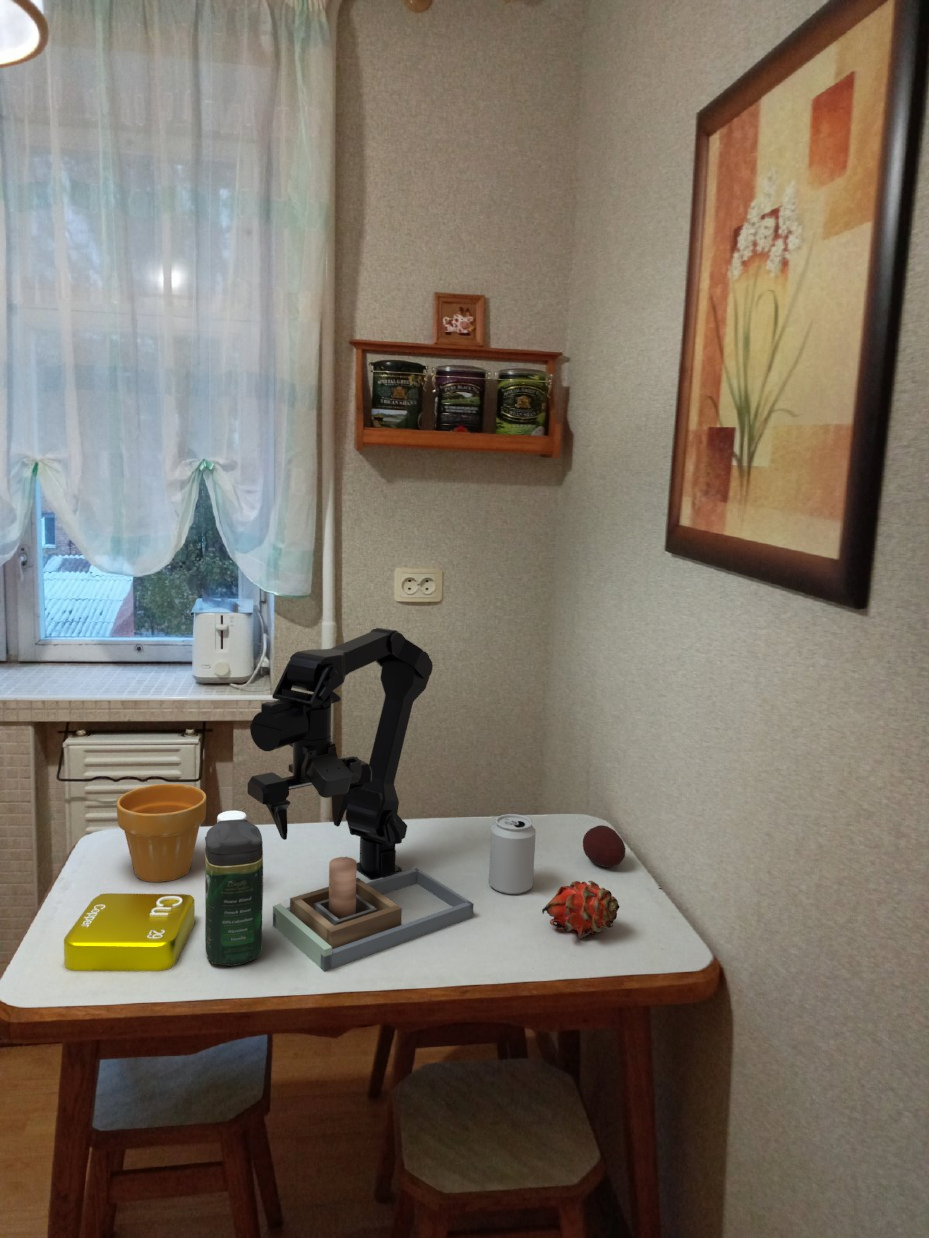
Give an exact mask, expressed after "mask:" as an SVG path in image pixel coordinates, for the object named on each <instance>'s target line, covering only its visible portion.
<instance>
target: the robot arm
mask: <svg viewBox="0 0 929 1238" xmlns="http://www.w3.org/2000/svg"><path fill="white" fill-rule="evenodd" d="M375 662H376V663H377V664H378V666H380V667H381V669H380V672H381V673H380V676H379V677H380V678H379V679H380V681H381V685H382V688H383V692H384V700H383V703H382V708H381V712H380V717H379V721H378V724H377V725H378V726H377V728H376V732H375V738H374V741H373V744H372V750H371V753H370V754H371V755H370V758H369V760H368V761H369V763H368V762H365V761H364V760H362V759H360V758H359V757H358V756H353V755H352V756H348V757H347V756H346V757H342V758H339V757H338V754H337V747H336V743H335V742H333V741H332V704H335V703H338V702H340V701H341V696H340V695H338V694H337V693H336V692H335V691H336V689H338V688H339V687H340V686H342V685H343V684H344V683H345V679H346V676H347V675H349V674H351V673H353V672H354V671H355V672H356V671H357V670H360V669H361V668H364V667H367V666H369V665H370V664H372V663H375ZM433 665H434V664H433V662H432V659H431V657H430V655H429V653H428V652H427V651H425V650H423V649H422V648H421V647H420V646H418V645H416V644H414V643H413V642H411V641H410V640H408V639H407V638H406V637H405V636H404V635H403V634H402V633H401V632H399V631H398V630H395V629H389V628H381V627H376V628H373V629H372V630H370V631H369V632H368V633H365V634H362V635H360V636H358V637H355V638H353V639H351V640H348V641H345V642H343V643H341V644H338V645H336V646H334V647H331V648H325V649H324V648H322V649H320V648H319V649H318V648H316V649H314V648H313V649H305V650H297V651H296V652H294V653H293V654H292V655H290V657H289V661H288V662H287V664H286V666H285V667H284V670H283V672H282V674H281V677H280V679H279V681H278V683H277V685H276V687H275V690H274V691H273V693H272V696H271V697H272V699H274V700H275V701H266V702H263V703H261V704H260V705H261V707H260V710H261V711H260V712H257V713H256V714H255V715H254V716H253V719H252V722H251V724H250V725H249V726H250V727H249V730H250V736H251V739H252V741H253V743H254V744H255V745H256V747H258V748H259V749H260V750H262V751H264V752H271V751H272V752H273V751H275V750H278V749H280V748H283V747H286V746H290V747H291V748H292V763H291V764H288V772H290V773H291V774H292V775H291V776H287V777H282V776H279V775H278V774H277V773H275V772H273V771H271V772H266V773H261V774H257V775H252V776H251V777H250V778H249V780H248V782H247V794H248V796H250V797H251V798H253V799H254V800H255V801H257V802H259V803H260V804H262V805H265V806H266V807H267V809H268V811H269V813H270V815H271V818H272V820H273V823H274V824H275V827H276V829H277V831H278V834H279V836H280V838H281V839H282V840H284V841H285V840H287V839H288V808H289V807H290V804H291V801H289V800H288V799H287V798H288V797H289V796H290V791H291V790H295V789H301V788H305V787H310V786H313V787H314V788H315V790H316V791H317V793H318V795H319V796H320V797H322V798H325V799H328V798H331V808H332V809H331V812H332V820H333V826H335V827H340V826H341V823H342V821H343V818H344V815H345V821H346V823H347V827H348V830H349V834H350V835H351V836H357V837H359V862H357V870H356V872H358V873H360V874H361V875H362V876H364V877H365V878H367V879H369V880H370V881H375V880H379V879H382V878H385V877H388V876H392V875H395V874H398V873H401V872H403V868H402V867H401V866H399V865H397V864H396V861H397V859H396V858H397V854H396V853H397V851H396V845H400V844H402V843H403V839H405V838H406V834H407V831H408V825H407V823H406V822H405V821H404V819H402V818H401V817H400V816H399V815H398V811H399V805H400V801H399V798H398V794H397V791H396V787H395V781H396V776H397V773H398V767H399V763H400V759H401V756H402V755H401V754H402V751H403V746H404V743H405V742H404V741H405V738H406V734H407V731H408V730H407V729H408V724H409V721H410V716H411V712H412V709H413V704H414V702H415V701H416V700H417V699H418V697H419V696H421V694H422V693H423V692H424V691H425V690H426V688H427V685H428V683H429V679H430V677H431V674H432V672H433ZM294 689H295V690H294ZM299 690H301V691H299ZM305 691H306V692H305ZM307 692H308V693H307ZM309 692H311V693H309Z"/></svg>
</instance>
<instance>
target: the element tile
mask: <svg viewBox="0 0 929 1238" xmlns="http://www.w3.org/2000/svg"><path fill="white" fill-rule="evenodd" d="M195 902H196V901H195V898H194V896H192V895H191V894H183V893H116V892H115V893H100V894H98V895H97V896H95V897H94V898H93V899H92V900H91V901H90V902H89V904H88V905H87V907H86V908H85V909H84V911H83V912H82V913H81V915H79V917H78V919H77V920H76V921H75V923H74V924H73V926H72V927H71V929H69V931H68V933H67V934H66V935H65V937H64V938H63V957H64V959H63V960H64V969H66V970H68V971H74V972H160V971H161V972H162V971H167V970H169V969H171V968H172V967H174V966H175V964H177V962H178V959H179V957H180V955H181V953H182V951H183V949H184V947H185V945H186V942H187V940H188V939H189V937H190V934H191V932H192V929H193V928H194V927H195V920H196V919H195V914H196V913H195Z"/></svg>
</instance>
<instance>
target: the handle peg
mask: <svg viewBox="0 0 929 1238" xmlns="http://www.w3.org/2000/svg"><path fill="white" fill-rule="evenodd" d="M357 863H358V862H357V860H356V859H354V858H352V857H348V856H341V857H340V856H339V857H336V858H332V859H331V860H330V861H329V862H328V887H329V912H330V913H332V914H333V915H334V916H335V917H337V918H338V919H342V918H345V917H348V916H351V915H354V914H356V878H357Z"/></svg>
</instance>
